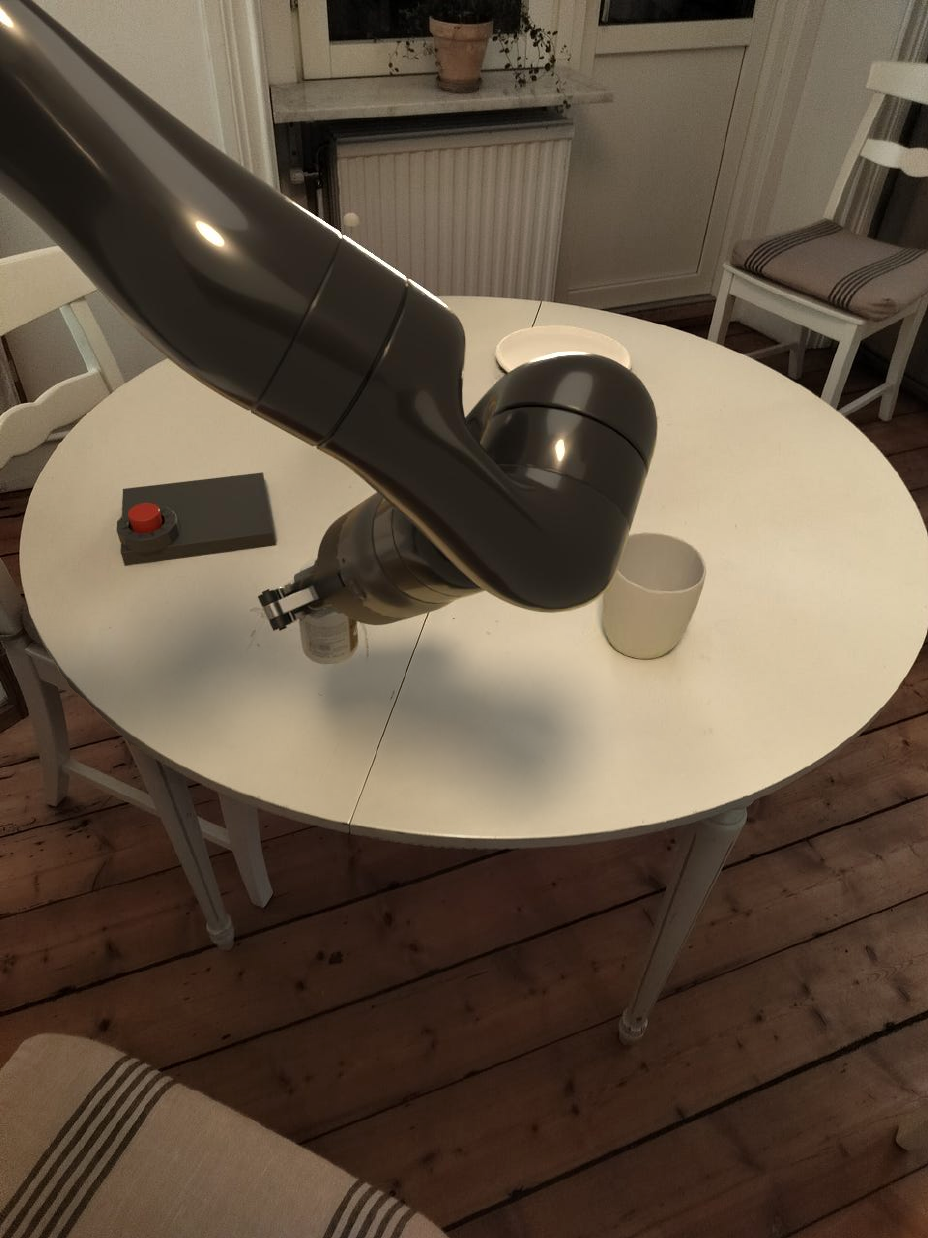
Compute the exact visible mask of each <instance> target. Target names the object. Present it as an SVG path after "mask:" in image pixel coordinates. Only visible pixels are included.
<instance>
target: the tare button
mask: <svg viewBox="0 0 928 1238" xmlns="http://www.w3.org/2000/svg"><path fill="white" fill-rule="evenodd" d="M128 517H129V520H130V524H131V527H132V529H133V531H135V532H137V533H149V532H153V531H155V530H157V529H159V528H161V526H162V524H163V521H162V517H161V514H160V510H159V508H158V506H156V505H154V504H151V503H143V504H139V505H136V506H134V507H132V508H131V509H130V510H129V512H128Z"/></svg>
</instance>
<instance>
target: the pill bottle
mask: <svg viewBox="0 0 928 1238" xmlns="http://www.w3.org/2000/svg"><path fill="white" fill-rule="evenodd" d="M316 559H317V557H316V558H313V559H310V560H308V561H307V562H306V563H304V564H303V565H302V567H301V568H300V571H299V572H301V571H303V570H305V569H307V568H309V567H311V566H313V565H314V562H315V560H316ZM298 624H299V632H300V634H299V635H300V640H301V641H300V642H301V648H302V651H303V653H304V655H305V656H306V657H307V658H308V659H309V660H311V661H312V662H314V663H317V664H320V665H336V664H340V663H343V662H345V661H347V660H349V659H350V658H352V656H353V655H355V653H356V652H357V650H358V647H359V631H358V628H359V627H358V622H357V621H355V620H353V619H351V618H349V617H347V616H346V615H344V614H343V613H341V614H338V613H336V612H334V613H331V614H329V615H326V616H324V617H322V618H319V619H317V620H314V619H312V618H311V617H310V616H309V615H307V616H306V618H305V619H303V620H301V621H300V619H298Z"/></svg>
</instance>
